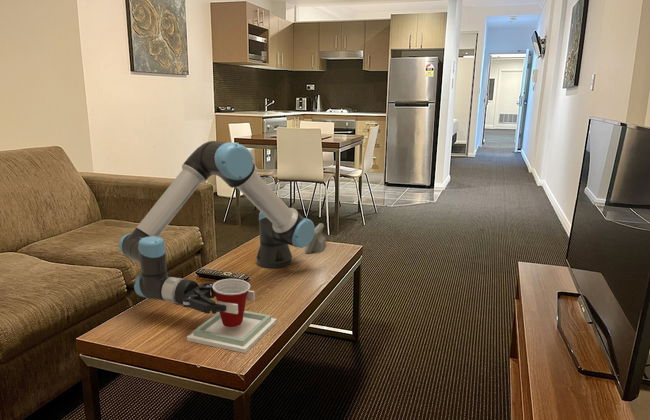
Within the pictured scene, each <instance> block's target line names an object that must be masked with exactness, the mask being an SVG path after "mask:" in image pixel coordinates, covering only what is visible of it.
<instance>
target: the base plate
mask: <svg viewBox="0 0 650 420" xmlns="http://www.w3.org/2000/svg"><path fill="white" fill-rule="evenodd" d="M277 323H278V319H277V318H274V317H272V315H271V314H265V313H259V312H253V311H249V310H244V315H243V321H242V323H241V324H240V325H238V326H235V327H227V326H224V325H223V323H222V319H221V315H220V312H216V313H215V314H213V315H212V316H211V317H210V318H208V319H207V320H205V321H204V322H203V323H201V324H200V325H199V326H197V327H196V328H195V329H194V330H193V331H192V332H191V333H190V334H188V335H187V336H186V341H187V342H191V343H196V344H200V345H206V346H209V347H215V348H218V349H225V350H228V351H233V352H237V353H242V354H247V353H248V352H249V350H251V349H252V347H254V346H255V345H256V344H257V343H258V342H259V341H260V340H261V339H262V338H263V337H264V336H265V335H266V334H267V333H268V332H269V331H270V330H271V329H272V328H273V327H274V326H275V325H276V324H277Z"/></svg>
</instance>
